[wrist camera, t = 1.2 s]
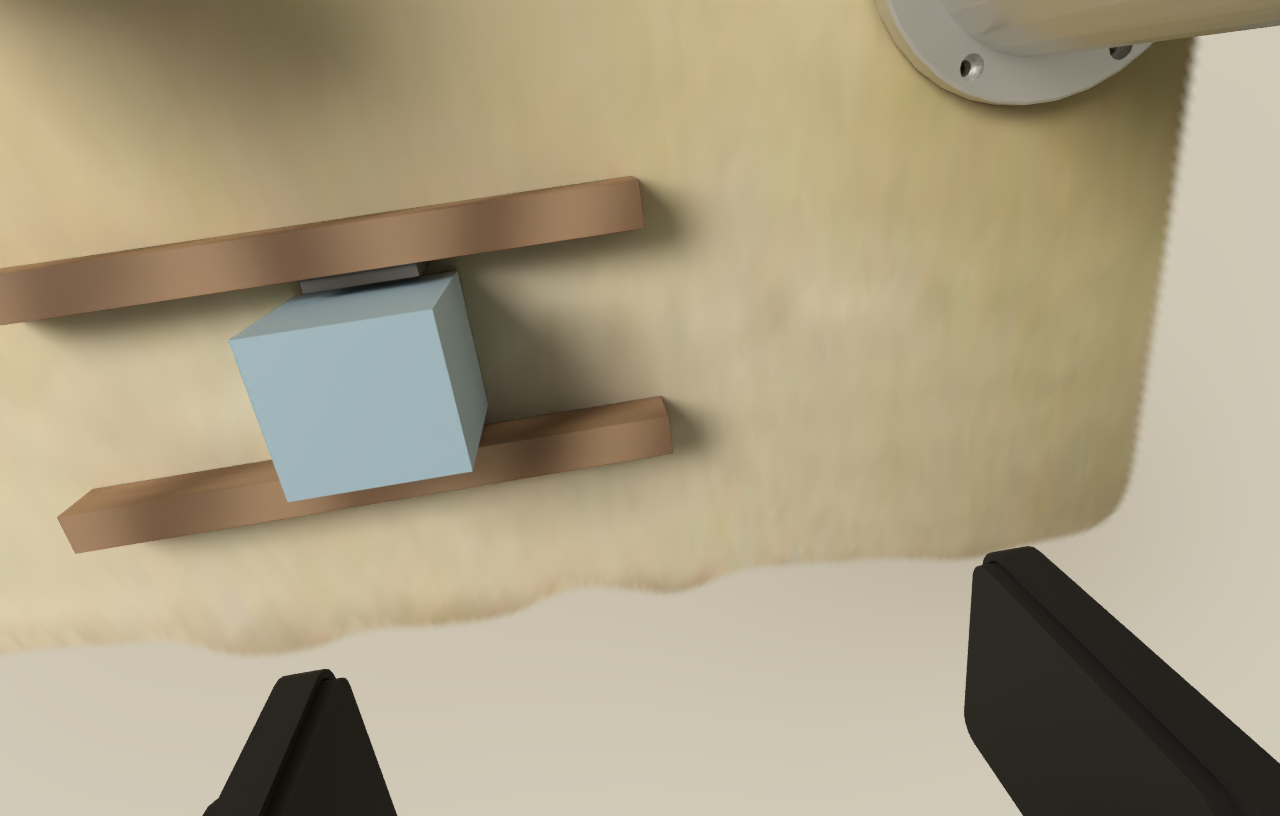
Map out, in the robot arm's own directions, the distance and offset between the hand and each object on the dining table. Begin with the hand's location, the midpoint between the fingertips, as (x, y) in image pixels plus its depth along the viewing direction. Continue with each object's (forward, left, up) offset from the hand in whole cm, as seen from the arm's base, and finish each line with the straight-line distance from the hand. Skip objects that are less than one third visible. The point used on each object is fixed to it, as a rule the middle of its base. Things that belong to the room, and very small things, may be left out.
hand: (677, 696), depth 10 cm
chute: (+9, 0, -20) cm, 22 cm away
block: (+8, 0, -20) cm, 22 cm away
